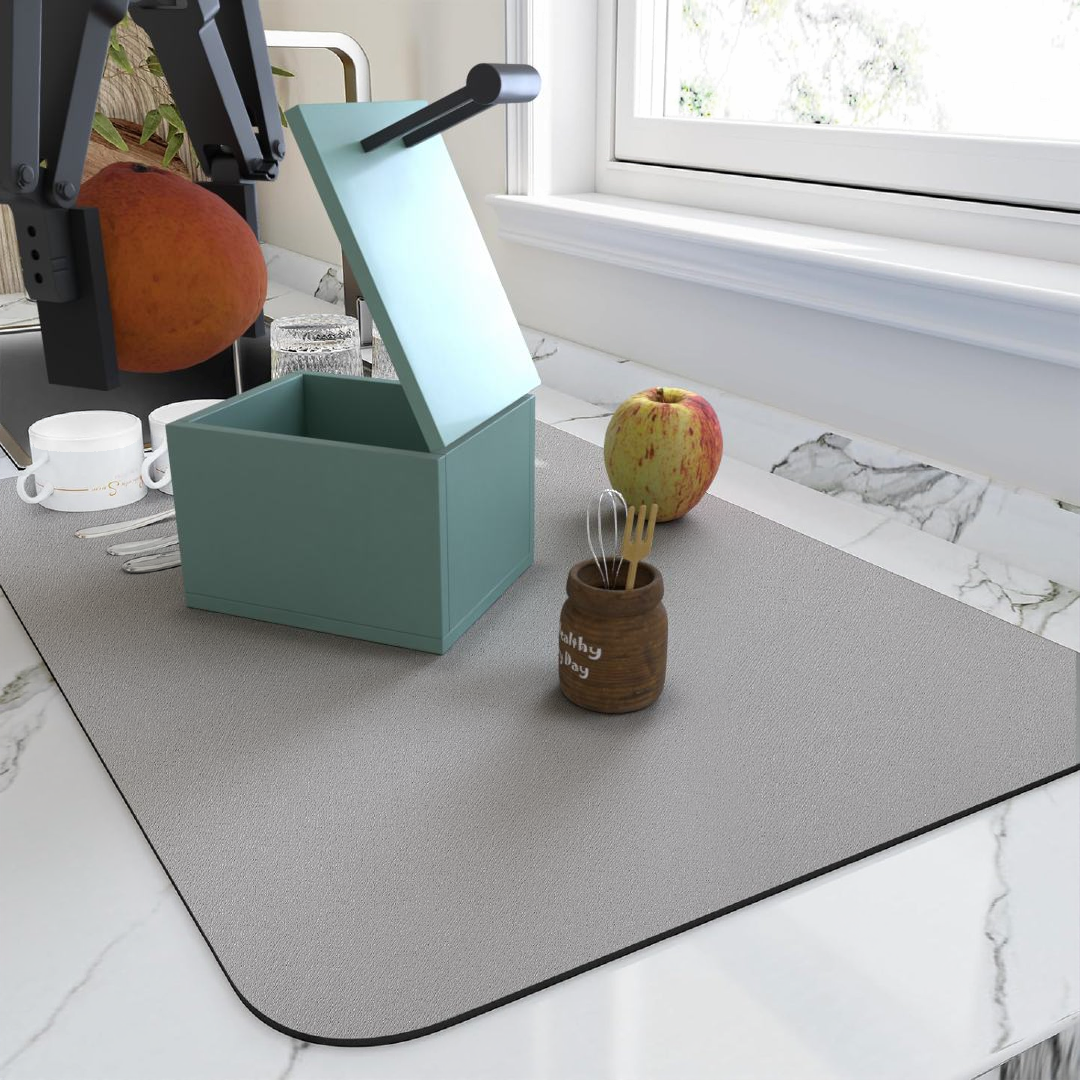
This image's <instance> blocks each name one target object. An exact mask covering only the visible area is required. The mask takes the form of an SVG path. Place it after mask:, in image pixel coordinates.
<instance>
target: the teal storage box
mask: <svg viewBox="0 0 1080 1080" xmlns="http://www.w3.org/2000/svg"><path fill="white" fill-rule="evenodd" d="M164 427H165V437H166V443H167V454H168V462H169V471H170V479H171V489H172V496H173V497H172V498H173V505H174V514H175V522H176V530H177V541H178V547H179V558H180V565H181V574H182V582H183V591H184V601H185V607H188V608H192V609H193V608H194V609H199V610H203V611H204V610H206V611H210V612H213V613H214V612H215V613H221V614H225V615H231V616H236V617H241V618H247V619H252V620H257V621H261V622H268V623H273V624H278V625H283V626H288V627H294V628H299V629H304V630H305V629H306V630H309V631H315V632H320V633H326V634H331V635H337V636H341V637H347V638H351V639H357V640H362V641H368V642H373V643H379V644H383V645H390V646H394V647H400V648H405V649H410V650H415V651H420V652H426V653H432V654H436V655H444V654H445V653H446V652H447V651H449V649H450V648H451V647H452V646H453V645H454V644H455V643H456V642H457V641H458V640H459V639H461V637H462V636H463V635H464V634H465V633H466V632H468V630H469V629H470V628H471V627H472V625H474V624H475V623H476V622H477V620H479V618H481V616H483V615H484V613H486V611H487V610H489V608H491V606H492V605H493V604H494V603H495V602H496V601H497V600H498V599H499V598H500V597H501V596H502V595H503V594H504V593H505V592H506V591H507V590H508V589H509V588H510V587H511V586H512V585H513V584H514V583H515V582H516V581H517V580H518V579H519V578H520V577H521V576H522V575H523V574H524V573H525V572H526V571H527V569H529V568H530V566H532V565H533V564H534V562H535V500H536V499H535V493H536V489H535V487H536V486H535V484H536V482H535V481H536V480H535V478H536V394H532V393H527V394H526V395H524V396H523V397H521V398H520V399H518V400H517V401H515V402H514V403H512V404H511V405H509V406H507V407H506V408H504V409H503V410H501V411H500V412H498V413H497V414H495V415H494V416H492V417H491V418H489V419H488V420H486V421H485V422H483V423H482V424H480V425H478V426H477V427H475V428H474V429H472V430H471V431H469V432H468V433H466V434H465V435H463V436H462V437H460V438H459V439H457V440H456V441H454V442H452V443H451V444H449V445H448V446H446V447H445V448H442V449H439V450H436V451H434V452H430V450H429V448H428V445H427V443H426V441H425V438H424V436H423V434H422V431H421V429H420V427H419V424H418V422H417V420H416V417H415V415H414V413H413V411H412V408H411V406H410V404H409V401H408V399H407V397H406V394H405V392H404V390H403V387H402V385H401V383H400V381H399V379H398V380H397V379H390V378H381V377H372V376H363V375H352V374H344V373H334V372H324V371H316V370H315V371H314V370H306V369H297V370H295V371H292V372H290V373H287V374H285V375H283V376H280V377H278V378H275V379H272V380H270V381H268V382H266V383H263V384H260V385H258V386H256V387H253V388H251V389H248V390H246V391H244V392H242V393H239V394H236V395H234V396H232V397H231V396H230V397H228V398H227V399H225V400H221V401H218V402H217V403H214V404H212V405H209V406H207V407H205V408H203V409H199V410H198V411H195V412H192V413H189V414H188V415H185V416H183V417H180V418H177V419H176V420H173V421H171V422H168V423H166V424H164Z"/></svg>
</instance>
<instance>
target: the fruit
mask: <svg viewBox="0 0 1080 1080" xmlns="http://www.w3.org/2000/svg"><path fill="white" fill-rule="evenodd" d="M193 182H194V181H190V180H188V179H186V178H184V177H183V176H181V175H180V174H177V173H175V172H172V171H171V170H168V169H164V168H159V167H157V166H155V165H148V164H146V163H143V162H137V161H130V160H129V161H123V160H119V161H116V162H113V163H109V164H108V165H105V166H104V167H102V168H101V169H100V170H99V171H98V172H97V173H96V174H94V175H93V176H91V177H90V178H88V180H86V181H84V182H82V183H81V185H80V190H79V195H78V199H77V202H76V204H75V205H74V206H85V207H98V210H99V218H100V226H101V234H102V242H103V249H104V257H105V265H106V273H107V281H108V289H109V297H110V305H111V313H112V321H113V329H114V337H115V345H116V353H117V361H118V369H119V371H120V370H121V371H125V372H131V373H149V374H163V373H169V372H173V371H178V370H184V369H188V368H190V367H193V366H196V365H197V364H201V363H204V362H205V361H207V360H210V359H211V358H212V357H214V356H216V355H218V354H220V353H221V352H223V351H225V350H226V349H228V348H229V347H230V346H232V345H233V344H234V343H235V342H236V341H237V340H238V339H239V338H241V337H240V336H242V335H243V334H244V333H245V331H246V330H247V329H248V328H249V327H250V326H251V325H252V324H253V323H254V322H255V320H256V319H257V318H258V316H259V314H260V312H261V310H262V308H263V309H264V305H265V303H266V298H267V295H268V281H269V278H268V277H269V276H268V269H267V264H266V260H265V256H264V254H263V252H262V249H261V244H260V245H259V243H258V241H257V239H256V237H255V234H254V233H253V231H252V229H251V228H250V226H249V225H248V224H247V223H246V221H245V220H244V219H243V218H242V217H241V216H240V215H239V214H238V213H237V212H236V211H235V210H234V209H233V208H232V207H231V206H230V205H229V204H228V203H226V202H225V201H224V200H223V199H221V198H220V197H219V196H218V195H216V194H214V193H212V192H210V191H208V190H207V189H205V188H203V187H201V186H200V185H197V184H195V183H193Z"/></svg>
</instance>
